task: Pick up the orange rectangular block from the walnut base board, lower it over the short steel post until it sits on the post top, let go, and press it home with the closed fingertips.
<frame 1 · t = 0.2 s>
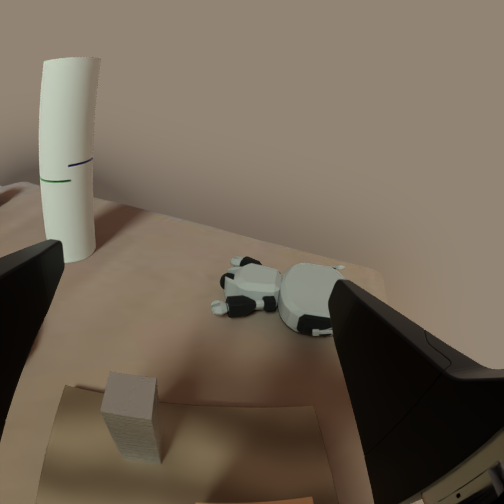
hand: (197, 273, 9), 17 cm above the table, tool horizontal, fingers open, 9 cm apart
cylindrical container: (72, 249, 37), on the table
post: (143, 446, 17), resting on base board
robot toy: (281, 310, 35), on the table
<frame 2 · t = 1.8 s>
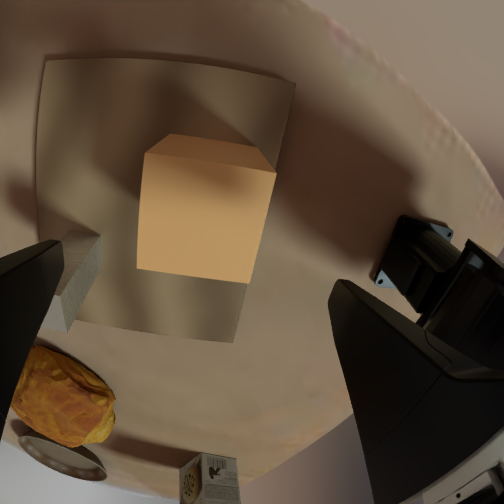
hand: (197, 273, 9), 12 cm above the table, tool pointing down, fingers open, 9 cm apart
coffee box: (207, 463, 40), on the table
croissant: (65, 383, 29), on the table
base board: (142, 210, 20), on the table
plant saucer: (64, 448, 38), on the table
post: (85, 249, 19), resting on base board
orange rectangular block: (206, 181, 18), point 1 cm above the table, touching base board
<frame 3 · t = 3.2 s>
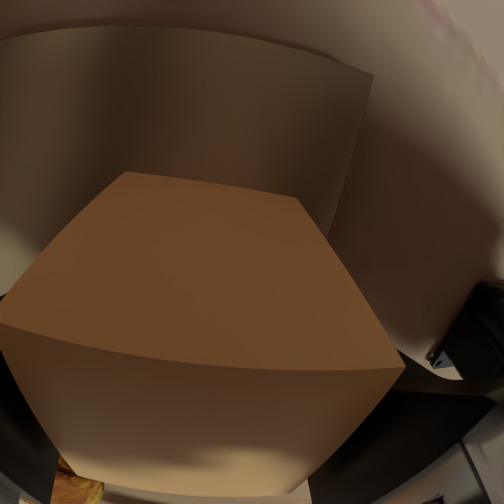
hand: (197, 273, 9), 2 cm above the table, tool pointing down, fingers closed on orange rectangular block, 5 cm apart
croissant: (44, 449, 20), on the table
base board: (98, 294, 12), on the table
orange rectangular block: (198, 260, 10), point 1 cm above the table, touching base board, gripper
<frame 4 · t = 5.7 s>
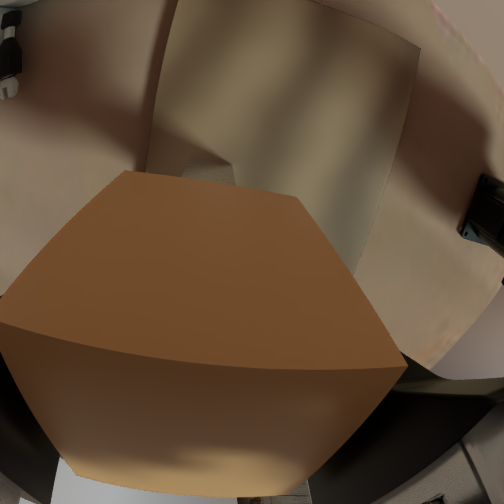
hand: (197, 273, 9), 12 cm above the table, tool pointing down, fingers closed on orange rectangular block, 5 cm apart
coffee box: (264, 449, 39), on the table
base board: (277, 143, 19), on the table
post: (207, 181, 19), resting on base board
robot toy: (18, 2, 11), on the table
orange rectangular block: (198, 259, 10), point 11 cm above the table, touching gripper
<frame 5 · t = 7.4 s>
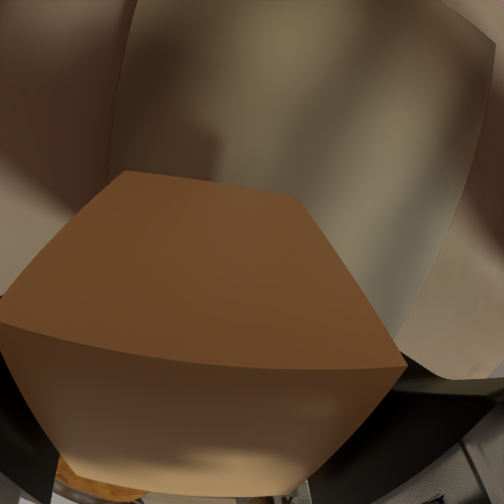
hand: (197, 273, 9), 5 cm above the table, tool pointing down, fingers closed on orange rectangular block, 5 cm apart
coffee box: (270, 490, 33), on the table
croissant: (106, 421, 21), on the table
base board: (308, 168, 13), on the table
plant saucer: (93, 482, 31), on the table
orange rectangular block: (198, 259, 10), point 4 cm above the table, touching gripper
when the fingers open (4 cm above the table, at t = 8.4 s): orange rectangular block drops 1 cm, resting on post.
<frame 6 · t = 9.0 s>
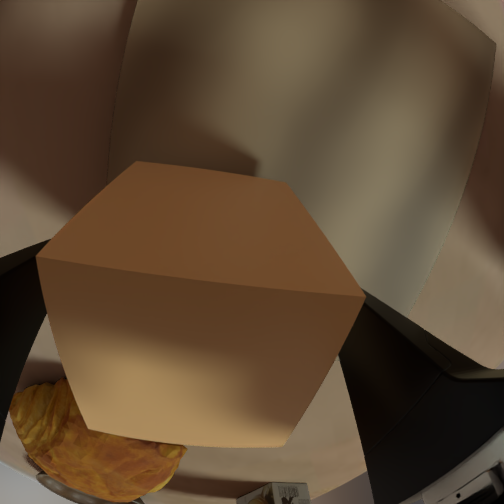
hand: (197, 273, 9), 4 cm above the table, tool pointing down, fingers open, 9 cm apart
coffee box: (270, 490, 33), on the table
croissant: (105, 421, 21), on the table
base board: (308, 168, 12), on the table
plant saucer: (93, 482, 31), on the table
orange rectangular block: (200, 239, 11), point 2 cm above the table, touching post
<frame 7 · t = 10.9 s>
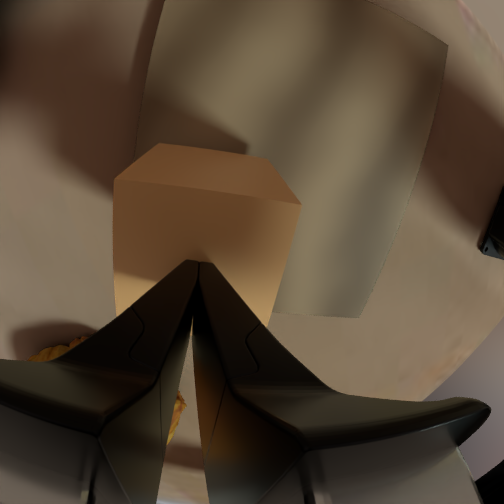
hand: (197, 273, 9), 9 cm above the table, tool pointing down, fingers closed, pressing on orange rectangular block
croissant: (112, 384, 25), on the table
base board: (287, 151, 16), on the table
orange rectangular block: (204, 201, 15), point 2 cm above the table, touching gripper, post
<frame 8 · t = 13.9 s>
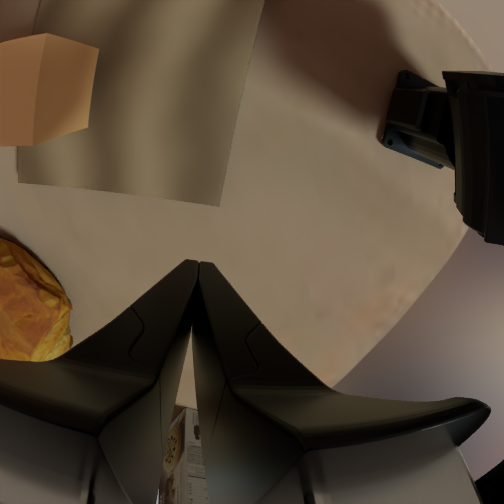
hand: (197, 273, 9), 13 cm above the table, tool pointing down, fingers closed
coffee box: (193, 425, 36), on the table
croissant: (22, 296, 24), on the table
base board: (130, 49, 16), on the table
orange rectangular block: (58, 88, 14), point 2 cm above the table, touching post
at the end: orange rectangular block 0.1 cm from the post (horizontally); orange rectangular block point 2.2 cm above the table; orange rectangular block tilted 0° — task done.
